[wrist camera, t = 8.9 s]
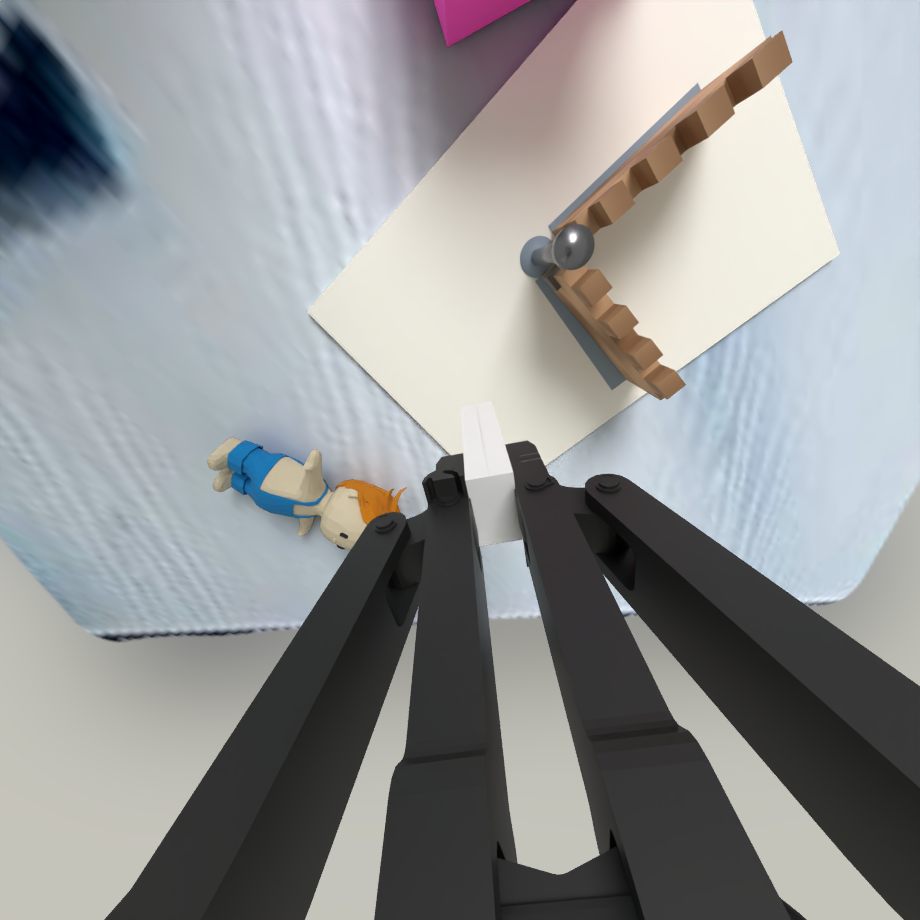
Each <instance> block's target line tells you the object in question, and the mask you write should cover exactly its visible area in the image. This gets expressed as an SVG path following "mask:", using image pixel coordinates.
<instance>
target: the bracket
mask: <svg viewBox="0 0 920 920" xmlns="http://www.w3.org/2000/svg"><path fill="white" fill-rule="evenodd" d="M529 1H531V0H434V4H435V7H436V11H437V14H438V17H439V21H440V24H441V27H442V31H443V34H444V37H445V41H446V44H447V47H449V46H451V45H453V44H454V43H456V42H458V41H460V40H462V39H463V38H465V37H467V36H469V35H470V34H472V33H474V32H476V31H478V30H479V29H481V28H483V27H485V26H486V25H488V24H490V23H492V22H493V21H495V20H497V19H499V18H501V17H502V16H504V15H506V14H508V13H509V12H511V11H513V10H515V9H516V8H518V7H520V6H522V5H524V4H525V3H527V2H529Z"/></svg>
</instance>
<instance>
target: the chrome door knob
mask: <svg viewBox="0 0 920 920" xmlns="http://www.w3.org/2000/svg"><path fill="white" fill-rule="evenodd" d="M594 246H595V242H594V237H593V234H592V232H591V231H590V229H589V228H587V227H586V226H584V225H582V224H573V225H570V226H568V227H566V228H564V229H563V230H561V231H560V232H559V233H558V234H557V236H556V237H555V239H554V241H553V243H551V244H548V245H546V246H543V247H541V248H538V249H536V250H534V251H533V252H532V254H531V262H532V263H533V264H534V265H535V266H541V265H548V264H554V263H555V264H556V265H557V266H558V267H559V268H561V269H563V270H576V269H579V268H581V267H583V266H584V265H585V264H586V263H587V262H588V261H589V260H590V258H591V256H592V254H593V251H594Z"/></svg>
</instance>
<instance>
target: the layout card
mask: <svg viewBox="0 0 920 920" xmlns="http://www.w3.org/2000/svg"><path fill="white" fill-rule="evenodd" d="M765 40H766V38H765V35H764V32H763V29H762V27H761V24H760V21H759V18H758V15H757V12H756V9H755V6H754V3H753V0H577V1H576V2H575V3H574V5H573V6H572V7H571V8H570V9H569V10H568V11H567V13H566V14H565V15H564V16H563V17H562V18H561V20H560V21H559V22H558V23H557V24H556V25H555V26H554V28H553V29H552V30H551V31H550V32H549V33H548V34H547V36H546V37H545V38H544V39H543V40H542V41H541V43H540V44H539V45H538V46H537V47H536V48H535V49H534V51H533V52H532V53H531V54H530V55H529V56H528V58H527V59H526V60H525V61H524V62H523V63H522V64H521V66H520V67H519V68H518V69H517V70H516V71H515V72H514V74H513V75H512V76H511V77H510V78H509V79H508V81H507V82H506V83H505V84H504V85H503V86H502V87H501V89H500V90H499V91H498V92H497V93H496V94H495V96H494V97H493V98H492V99H491V100H490V101H489V102H488V104H487V105H486V106H485V107H484V108H483V109H482V111H481V112H480V113H479V114H478V115H477V116H476V117H475V119H474V120H473V121H472V122H471V123H470V124H469V125H468V127H467V128H466V129H465V130H464V131H463V132H462V134H461V135H460V136H459V137H458V138H457V139H456V140H455V142H454V143H453V144H452V145H451V146H450V147H449V149H448V150H447V151H446V152H445V153H444V154H443V155H442V157H441V158H440V159H439V160H438V161H437V162H436V163H435V165H434V166H433V167H432V168H431V169H430V170H429V172H428V173H427V174H426V175H425V176H424V177H423V178H422V180H421V181H420V182H419V183H418V184H417V185H416V187H415V188H414V189H413V190H412V191H411V192H410V193H409V195H408V196H407V197H406V198H405V199H404V200H403V201H402V203H401V204H400V205H399V206H398V207H397V208H396V210H395V211H394V212H393V213H392V214H391V215H390V216H389V218H388V219H387V220H386V221H385V222H384V223H383V225H382V226H381V227H380V228H379V229H378V230H377V231H376V233H375V234H374V235H373V236H372V237H371V238H370V239H369V241H368V242H367V243H366V244H365V245H364V246H363V248H362V249H361V250H360V251H359V252H358V253H357V254H356V256H355V257H354V258H353V259H352V260H351V261H350V263H349V264H348V265H347V266H346V267H345V268H344V269H343V271H342V272H341V273H340V274H339V275H338V276H337V277H336V279H335V280H334V281H333V282H332V283H331V284H330V286H329V287H328V288H327V289H326V290H325V291H324V292H323V294H322V295H321V296H320V297H319V298H318V299H317V301H316V302H315V303H314V304H313V305H312V306H311V307H310V309H309V310H308V311H307V313H308V314H309V315H310V316H311V317H312V318H313V319H314V320H315V321H316V322H318V323H319V324H320V325H321V326H322V327H323V328H324V329H325V330H326V331H327V332H328V333H329V334H330V335H331V336H332V337H333V338H334V339H335V340H336V341H337V342H338V343H339V344H340V345H341V346H342V347H343V348H344V349H345V350H346V351H347V352H348V353H349V354H350V355H351V356H352V357H353V358H354V359H355V360H356V361H357V362H358V363H359V364H360V365H361V366H362V367H363V368H364V369H365V370H366V371H367V372H368V373H369V374H370V375H371V376H372V377H373V378H374V379H375V380H376V381H377V382H378V383H379V384H380V385H381V386H382V387H383V388H384V389H385V390H386V391H387V392H388V393H389V394H390V395H391V396H392V397H393V398H394V399H395V400H396V401H397V402H398V403H399V404H400V405H401V406H402V407H403V408H404V409H405V410H406V411H407V412H408V413H409V414H410V415H411V416H412V417H413V418H414V419H415V420H416V421H417V422H418V423H419V424H420V425H421V426H422V427H423V428H424V429H425V430H426V431H427V432H428V433H429V434H430V435H431V436H432V437H433V438H434V439H435V440H436V441H437V442H438V443H439V444H440V445H441V446H442V447H443V448H444V449H445V450H446V451H447V452H448V453H449V454H450V455H456V454H461V453H463V440H462V425H461V409H460V407H462V406H467V405H472V404H477V403H483V402H488V401H492V403H493V406H494V410H495V413H496V416H497V420H498V423H499V426H500V430H501V433H502V436H503V440H504V443H505V444H510V443H516V442H521V441H527V440H528V441H529V442H531V443H533V444H534V445H535V446H536V448H537V450H538V453H539V454H540V456H541V459H542V461H543V463H544V465H545V466H546V465H547V464H549V463H550V462H551V461H553V460H554V459H556V458H557V457H558V456H560V455H561V454H562V453H564V452H565V451H567V450H568V449H569V448H571V447H572V446H574V445H575V444H576V443H578V442H579V441H581V440H582V439H583V438H585V437H586V436H587V435H589V434H590V433H592V432H593V431H594V430H596V429H597V428H599V427H600V426H601V425H603V424H604V423H606V422H607V421H608V420H610V419H611V418H612V417H614V416H615V415H617V414H618V413H619V412H621V411H622V410H624V409H625V408H626V407H628V406H629V405H631V404H632V403H633V402H635V401H636V400H637V399H639V398H640V397H642V396H643V395H644V394H646V393H647V392H646V391H644V390H643V389H641V388H639V387H637V386H636V385H634V384H632V383H631V382H629V381H627V380H626V378H625V377H624V376H623V375H622V374H621V372H620V371H619V370H618V369H617V368H616V366H615V365H614V364H613V363H612V361H611V360H610V359H609V358H608V357H607V355H606V354H605V353H604V352H603V351H602V349H601V348H600V347H599V346H598V344H597V343H596V342H595V341H594V340H593V338H592V337H591V336H590V335H589V334H588V332H587V331H586V330H585V329H584V327H583V326H582V325H581V324H580V323H579V321H578V320H577V319H576V318H575V317H574V315H573V314H572V313H571V312H570V310H569V309H568V308H567V307H566V306H565V304H564V303H563V302H562V301H561V300H560V298H559V297H558V296H557V295H556V293H555V292H554V291H553V290H552V289H551V288H550V287H549V285H548V284H547V283H546V282H545V280H544V279H543V278H542V276H543V275H544V274H545V273H546V272H547V271H548V270H549V268H550V267H551V266H552V265H553V264H548V265H541V266H535V265H534V264H533V263H532V262H531V254H532V252H533V251H534V250H536V249H538V248H541V247H543V246H546V245H548V244H551V243H553V241H554V239H555V235H554V233H553V232H552V231H553V230H554V229H555V228H556V227H557V226H558V225H559V224H560V223H561V222H562V221H563V220H564V219H566V218H567V217H568V216H569V215H570V214H571V213H572V212H573V211H574V210H575V209H576V208H577V207H578V206H579V205H580V204H581V203H582V202H583V201H585V200H586V199H587V198H588V197H589V196H590V195H591V194H592V193H593V192H594V191H595V190H596V189H597V188H598V187H599V186H600V185H601V184H602V183H603V182H605V181H606V180H607V179H608V178H609V177H610V176H611V175H612V174H613V173H614V172H615V171H616V170H617V169H618V168H619V167H620V166H621V165H622V164H623V163H625V162H626V161H627V160H628V159H629V158H630V157H631V156H632V155H633V154H634V153H635V152H636V151H637V150H638V149H639V148H640V147H641V146H642V145H643V144H645V143H646V142H647V141H648V140H649V139H650V138H651V137H652V136H653V135H654V134H655V133H656V132H657V131H658V130H659V129H660V128H661V127H662V126H663V125H665V124H666V123H667V122H668V121H669V120H670V119H671V118H672V117H673V116H674V115H675V114H676V113H677V112H678V111H679V110H680V109H681V108H682V107H684V106H685V105H686V104H687V103H688V102H689V101H690V100H691V99H692V98H693V97H694V96H695V95H696V94H697V93H698V92H699V91H700V90H701V89H703V88H704V87H705V86H707V85H708V84H709V83H711V82H712V81H713V80H714V79H716V78H717V77H718V76H720V75H721V74H722V73H723V72H725V71H726V70H727V69H729V68H730V67H731V66H732V65H734V64H735V63H736V62H738V61H739V60H740V59H741V58H743V57H744V56H745V55H747V54H748V53H749V52H750V51H752V50H753V49H754V48H756V47H757V46H758V45H759V44H761V43H762V42H763V41H765ZM733 109H734V112H735V114H734V115H733V116H732V117H731V118H730V119H729V120H728V121H726V122H725V123H724V124H723V125H722V126H721V127H720V128H719V129H718V130H716V131H715V132H714V133H713V134H712V135H711V136H710V137H709V138H707V139H705V140H703V141H702V142H700V143H698V144H696V145H695V146H693V147H691V148H689V149H687V150H686V151H685V152H684V153H683V154H682V155H681V157H682V160H683V161H682V162H681V163H680V164H679V165H678V166H677V167H675V168H674V169H673V170H672V171H671V172H670V173H669V174H668V175H667V176H665V177H664V178H663V179H662V180H661V181H660V182H659V183H657V184H655V185H653V186H651V187H649V188H646V189H644V190H642V191H641V192H640V193H639V194H638V195H637V196H636V197H635V198H634V199H633V201H634V202H635V204H634V205H633V206H632V207H631V208H630V209H629V210H628V211H627V212H626V213H624V214H623V215H622V216H621V217H620V218H619V219H618V220H617V221H616V222H614V223H613V224H611V225H609V226H606V227H603V228H601V229H599V230H598V231H597V232H596V233H595V234H594V235H593V237H594V242H595V246H594V251H593V254H592V256H591V258H590V260H589V261H588V262H587V263H586V264H585V266H586V267H587V269H588V270H591V269H599V270H600V271H601V273H602V274H603V275H604V277H605V278H606V279H607V281H608V282H609V283H610V284H611V286H612V287H613V288H612V289H611V290H610V291H609V292H608V293H607V295H608V296H609V298H610V299H611V300H612V301H613V303H614V304H620V305H626V306H627V307H628V308H629V310H630V311H631V312H632V314H633V315H634V316H635V318H636V319H637V320H638V322H639V323H638V324H637V325H636V326H635V327H634V328H633V329H634V330H635V332H636V333H637V334H638V335H640V336H643V337H646V338H650V339H652V340H653V342H654V343H655V344H656V346H657V347H658V348H659V350H660V351H661V352H662V354H663V356H662V357H660V358H659V359H658V362H659V363H660V364H661V365H664V366H666V367H669V368H671V369H673V370H675V371H678V370H679V369H681V368H682V367H683V366H685V365H686V364H688V363H689V362H690V361H692V360H693V359H694V358H696V357H697V356H699V355H700V354H701V353H703V352H704V351H706V350H707V349H708V348H710V347H711V346H713V345H714V344H715V343H717V342H718V341H719V340H721V339H722V338H724V337H725V336H726V335H728V334H729V333H731V332H732V331H733V330H735V329H736V328H738V327H739V326H740V325H742V324H743V323H744V322H746V321H747V320H749V319H750V318H751V317H753V316H754V315H756V314H757V313H758V312H760V311H761V310H763V309H764V308H765V307H767V306H768V305H769V304H771V303H772V302H774V301H775V300H776V299H778V298H779V297H781V296H782V295H783V294H785V293H786V292H788V291H789V290H790V289H792V288H793V287H794V286H796V285H797V284H799V283H800V282H801V281H803V280H804V279H806V278H807V277H808V276H810V275H811V274H813V273H814V272H815V271H817V270H818V269H819V268H821V267H822V266H824V265H825V264H826V263H828V262H829V261H831V260H832V259H833V258H835V257H836V256H838V255H839V254H840V253H839V250H838V247H837V244H836V241H835V238H834V235H833V232H832V229H831V226H830V224H829V221H828V218H827V215H826V212H825V209H824V206H823V203H822V200H821V197H820V195H819V192H818V189H817V186H816V183H815V180H814V177H813V174H812V171H811V168H810V166H809V163H808V160H807V157H806V154H805V151H804V148H803V145H802V142H801V140H800V137H799V134H798V131H797V128H796V125H795V122H794V119H793V116H792V113H791V111H790V108H789V105H788V102H787V99H786V96H785V93H784V90H783V87H782V84H781V82H780V79H779V76H778V75H777V76H776V77H775V78H774V79H773V80H772V81H771V82H770V83H769V84H767V85H766V86H765V87H764V88H763V89H761V90H760V91H758V92H757V93H755V94H753V95H752V96H750V97H749V98H747V99H745V100H744V101H742V102H740V103H739V104H737V105H736V106H735V107H734V108H733Z"/></svg>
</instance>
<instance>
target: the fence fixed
mask: <svg viewBox="0 0 920 920" xmlns="http://www.w3.org/2000/svg"><path fill="white" fill-rule="evenodd" d="M791 63H792V59H791V56H790V53H789V50H788V47H787V44H786V41H785V38H784V34H783V31H780V32H779V33H778V34H777V35H775V36H774V37H773V38H771V36H770V37H769V38H767V39H766V40H765V41H763V42H762V43H761V44H759V45H758V46H757V47H756V48H754V49H753V50H752V51H750V52H749V53H748V54H747V55H745V56H744V57H743V58H741V59H740V60H739V61H738V62H736V63H735V64H734V65H732V66H731V67H730V68H729V69H727V70H726V71H725V72H723V73H722V74H721V75H720V76H718V77H717V78H716V79H714V80H713V81H712V82H711V83H709V84H708V85H707V86H705V87H704V88H703V89H701V90H700V91H699V92H698V93H697V94H696V95H695V96H694V97H693V98H692V99H691V100H690V101H689V102H688V103H687V104H686V105H685V106H684V107H682V108H681V109H680V110H679V111H678V112H677V113H676V114H675V115H674V116H673V117H672V118H671V119H670V120H669V121H668V122H667V123H666V124H665V125H663V126H662V127H661V128H660V129H659V130H658V131H657V132H656V133H655V134H654V135H653V136H652V137H651V138H650V139H649V140H648V141H647V142H646V143H645V144H643V145H642V146H641V147H640V148H639V149H638V150H637V151H636V152H635V153H634V154H633V155H632V156H631V157H630V158H629V159H628V160H627V161H626V162H625V163H623V164H622V165H621V166H620V167H619V168H618V169H617V170H616V171H615V172H614V173H613V174H612V175H611V176H610V177H609V178H608V179H607V180H606V181H605V182H603V183H602V184H601V185H600V186H599V187H598V188H597V189H596V190H595V191H594V192H593V193H592V194H591V195H590V196H589V197H588V198H587V199H586V200H585V201H583V202H582V203H581V204H580V205H579V206H578V207H577V208H576V209H575V210H574V211H573V212H572V213H571V214H570V215H569V216H568V217H567V218H566V219H564V220H563V221H562V222H561V223H560V224H559V225H558V226H557V227H556V228H555V229H554V230H553V231H552V232H553V233H554V235H555V237H556V236H557V234H558V233H559V232H560V231H561V230H563V229H564V228H566V227H568V226H570V225H573V224H582V225H584V226H586V227H587V228H589V229H590V231H591V232H592V234H593V235H594V234H595V233H596V232H597V231H598V230H599V229H601V228H603V227H606V226H609V225H611V224H613V223H614V222H616V221H617V220H618V219H619V218H620V217H621V216H622V215H623V214H624V213H626V212H627V211H628V210H629V209H630V208H631V207H632V206H633V205H634V204H635V202H634V201H633V199H634V198H635V197H636V196H637V195H638V194H639V193H640V192H641V191H642V190H644V189H646V188H649V187H651V186H653V185H655V184H657V183H659V182H660V181H661V180H662V179H663V178H664V177H665V176H667V175H668V174H669V173H670V172H671V171H672V170H673V169H674V168H675V167H677V166H678V165H679V164H680V163H681V162H682V161H683V160H682V157H681V155H682V154H683V153H684V152H685V151H686V150H687V149H689V148H691V147H693V146H695V145H696V144H698V143H700V142H702V141H703V140H705V139H707V138H709V137H710V136H711V135H712V134H713V133H714V132H715V131H716V130H718V129H719V128H720V127H721V126H722V125H723V124H724V123H725V122H726V121H728V120H729V119H730V118H731V117H732V116H733V115H734V114H735V112H734V109H733V108H734V107H735V106H736V105H737V104H739V103H740V102H742V101H744V100H745V99H747V98H749V97H750V96H752V95H753V94H755V93H757V92H758V91H760V90H761V89H763V88H764V87H765V86H766V85H767V84H769V83H770V82H771V81H772V80H773V79H774V78H775V77H776V76H777V75H779V74H780V73H781V72H782V71H783V70H784V69H785V68H786V67H787V66H789V65H790V64H791Z"/></svg>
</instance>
